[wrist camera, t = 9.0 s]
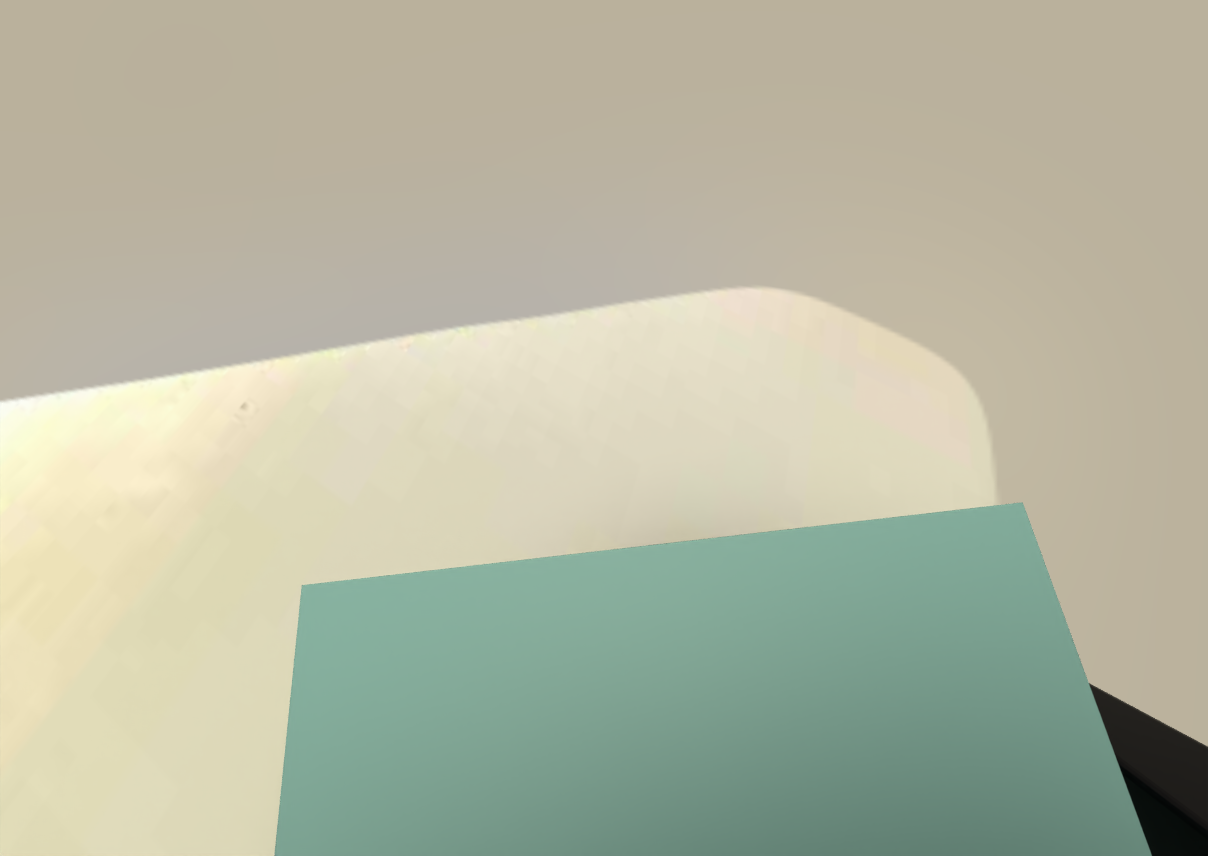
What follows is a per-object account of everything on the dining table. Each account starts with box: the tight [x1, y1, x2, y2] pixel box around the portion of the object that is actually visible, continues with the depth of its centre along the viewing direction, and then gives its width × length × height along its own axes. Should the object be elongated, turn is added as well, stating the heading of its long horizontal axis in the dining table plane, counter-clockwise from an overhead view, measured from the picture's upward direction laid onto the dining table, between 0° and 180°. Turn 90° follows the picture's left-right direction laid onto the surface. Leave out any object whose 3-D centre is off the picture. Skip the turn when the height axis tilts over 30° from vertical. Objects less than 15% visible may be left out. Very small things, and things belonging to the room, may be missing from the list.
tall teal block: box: [274, 503, 1152, 856], centre depth 9 cm, size 5×5×13 cm
